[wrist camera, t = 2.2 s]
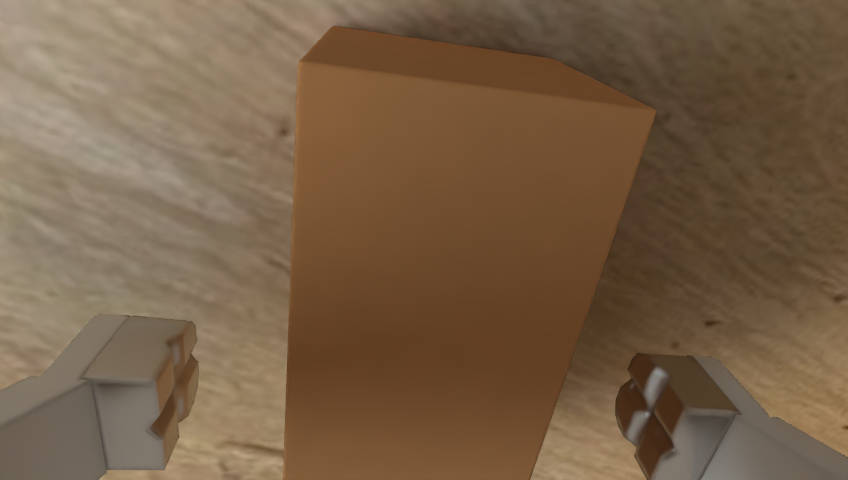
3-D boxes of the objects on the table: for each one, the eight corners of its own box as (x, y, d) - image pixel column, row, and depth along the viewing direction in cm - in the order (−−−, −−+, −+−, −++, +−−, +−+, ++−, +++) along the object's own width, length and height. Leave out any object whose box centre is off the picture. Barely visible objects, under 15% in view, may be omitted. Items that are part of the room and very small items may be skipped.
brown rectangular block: (330, 24, 10) (296, 59, 6) (554, 58, 11) (660, 110, 7) (307, 410, 14) (278, 577, 10) (465, 418, 15) (496, 580, 11)
